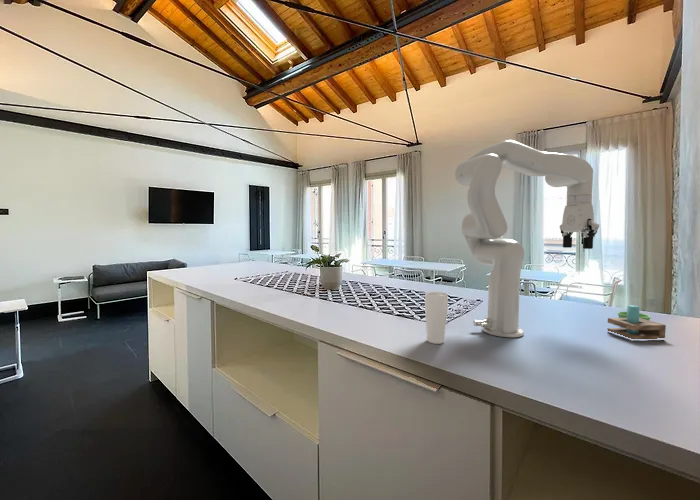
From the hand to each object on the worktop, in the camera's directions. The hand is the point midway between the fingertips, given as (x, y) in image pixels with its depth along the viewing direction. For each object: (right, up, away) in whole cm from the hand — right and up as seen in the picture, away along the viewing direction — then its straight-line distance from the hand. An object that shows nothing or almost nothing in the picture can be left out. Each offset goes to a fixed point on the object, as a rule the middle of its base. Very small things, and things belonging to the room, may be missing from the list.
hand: (577, 248), depth 118 cm
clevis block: (+9, -29, -13) cm, 33 cm away
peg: (+9, -29, -13) cm, 33 cm away
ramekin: (+20, -29, -1) cm, 35 cm away
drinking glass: (-57, -29, -18) cm, 67 cm away
